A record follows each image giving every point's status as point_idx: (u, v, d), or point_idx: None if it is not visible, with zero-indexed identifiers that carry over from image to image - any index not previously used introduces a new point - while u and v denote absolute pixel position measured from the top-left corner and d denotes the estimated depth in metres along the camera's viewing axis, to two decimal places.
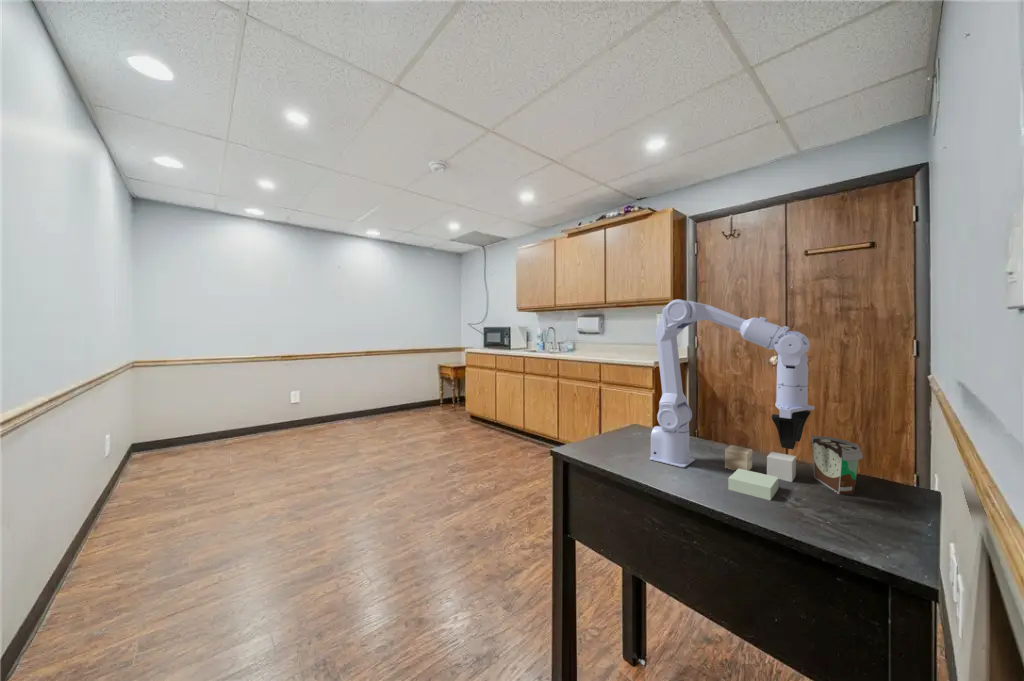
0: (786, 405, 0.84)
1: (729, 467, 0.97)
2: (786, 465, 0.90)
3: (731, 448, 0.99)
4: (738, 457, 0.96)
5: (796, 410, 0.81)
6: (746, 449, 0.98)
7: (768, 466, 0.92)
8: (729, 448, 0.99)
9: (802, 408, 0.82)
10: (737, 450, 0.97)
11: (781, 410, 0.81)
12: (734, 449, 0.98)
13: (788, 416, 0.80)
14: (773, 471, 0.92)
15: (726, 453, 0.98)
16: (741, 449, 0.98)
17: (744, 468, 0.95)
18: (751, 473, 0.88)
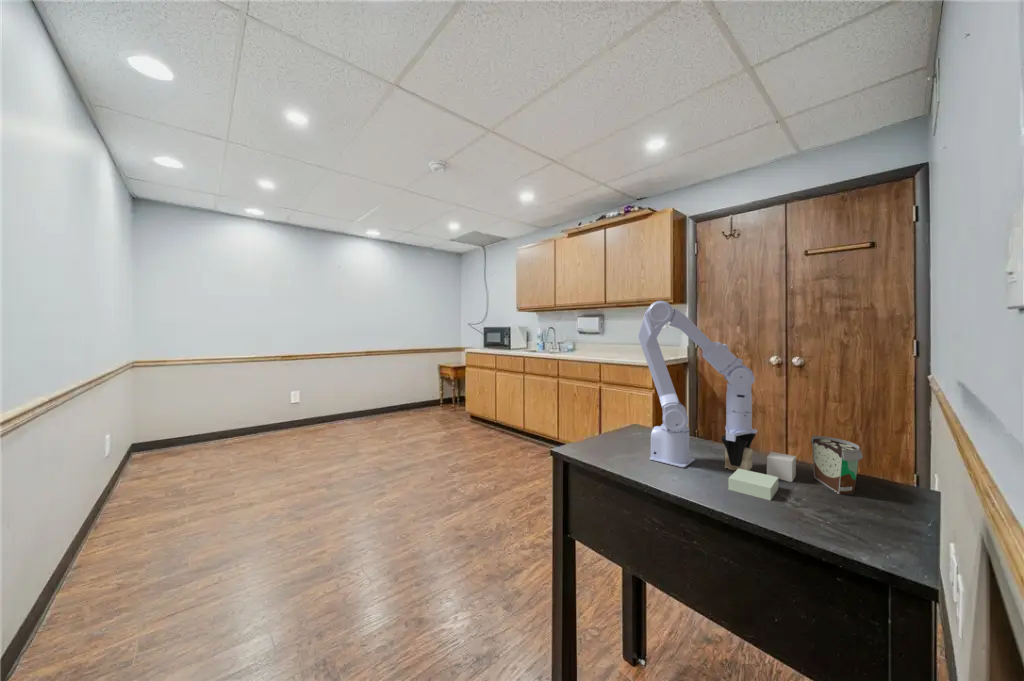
0: (733, 429, 0.96)
1: (729, 467, 0.97)
2: (786, 465, 0.90)
3: None
4: None
5: (740, 434, 0.94)
6: (746, 449, 0.98)
7: (768, 466, 0.92)
8: None
9: (746, 432, 0.95)
10: None
11: (727, 434, 0.93)
12: None
13: (733, 439, 0.92)
14: (773, 471, 0.92)
15: (726, 453, 0.98)
16: None
17: (744, 468, 0.95)
18: (751, 473, 0.88)
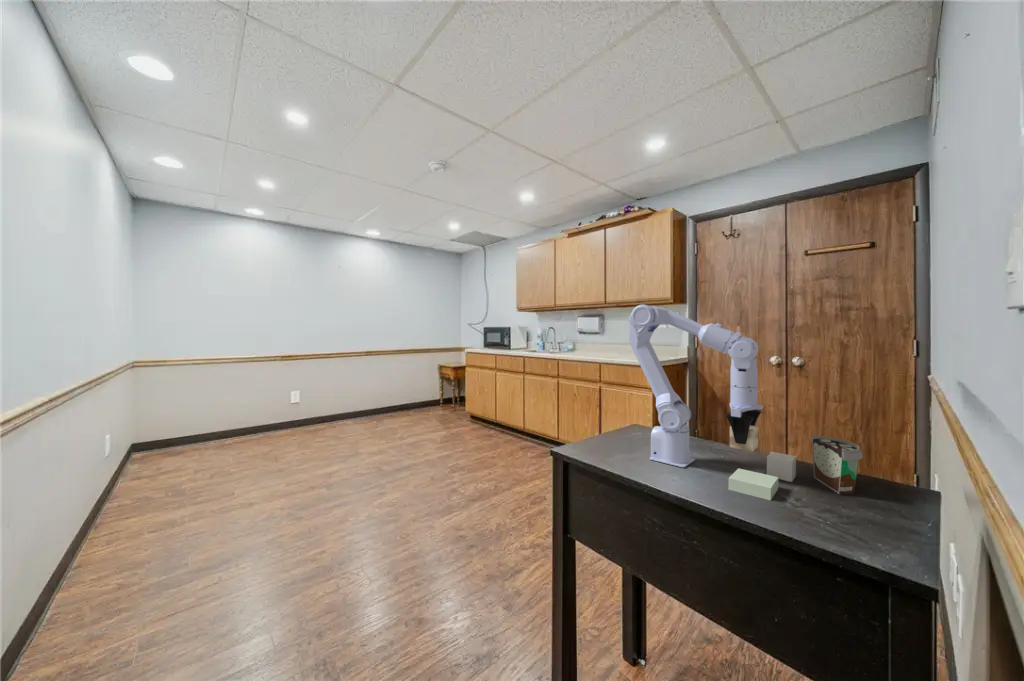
0: (738, 405, 0.92)
1: (734, 445, 0.93)
2: (786, 465, 0.90)
3: None
4: None
5: (746, 409, 0.89)
6: (752, 426, 0.93)
7: (768, 466, 0.92)
8: None
9: (752, 407, 0.90)
10: None
11: (732, 409, 0.89)
12: None
13: (738, 415, 0.88)
14: (773, 471, 0.92)
15: (731, 431, 0.93)
16: None
17: (750, 446, 0.90)
18: (751, 473, 0.88)
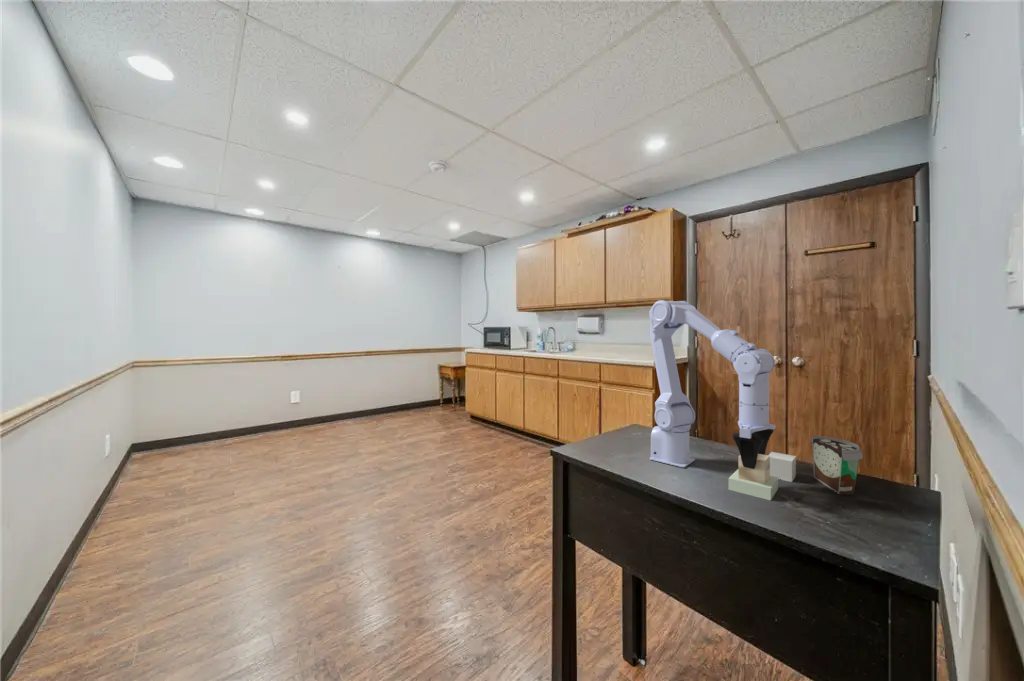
0: (747, 424, 0.83)
1: (743, 477, 0.85)
2: (786, 465, 0.90)
3: None
4: None
5: (756, 430, 0.81)
6: (763, 456, 0.85)
7: None
8: None
9: (763, 427, 0.82)
10: None
11: (741, 430, 0.80)
12: None
13: (748, 436, 0.80)
14: (773, 471, 0.92)
15: (740, 460, 0.85)
16: None
17: (761, 478, 0.82)
18: None
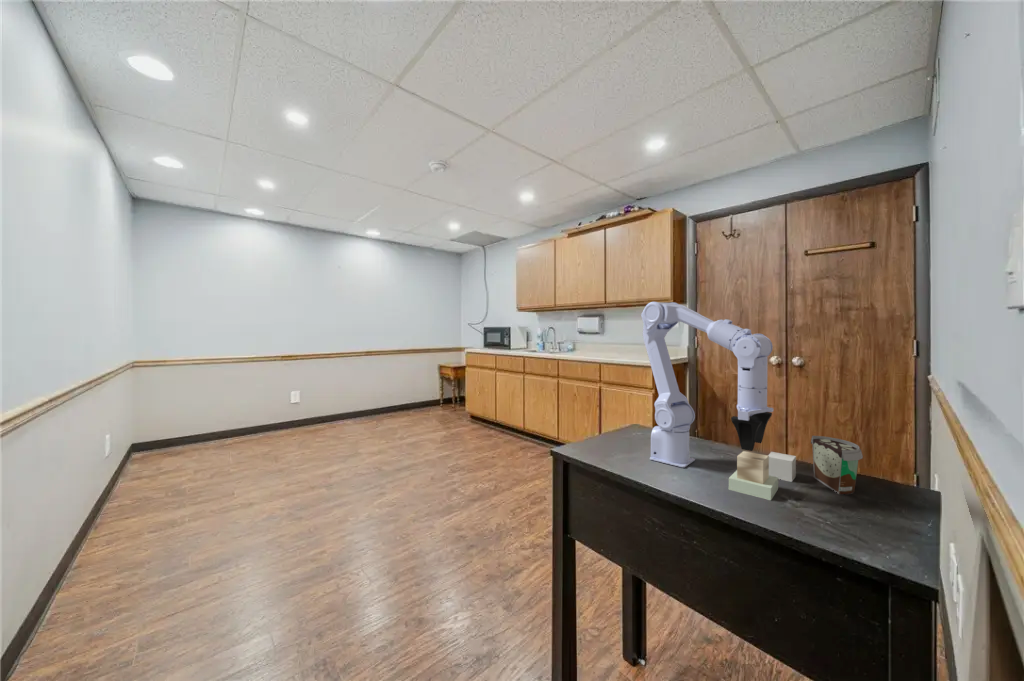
0: (746, 407, 0.85)
1: (742, 476, 0.85)
2: (786, 465, 0.90)
3: (744, 454, 0.86)
4: (753, 465, 0.83)
5: (754, 412, 0.82)
6: (762, 456, 0.85)
7: None
8: (742, 454, 0.86)
9: (761, 410, 0.83)
10: (751, 457, 0.84)
11: (739, 412, 0.82)
12: (748, 456, 0.85)
13: (746, 418, 0.81)
14: (773, 471, 0.92)
15: (738, 460, 0.85)
16: (756, 456, 0.85)
17: (760, 478, 0.82)
18: None
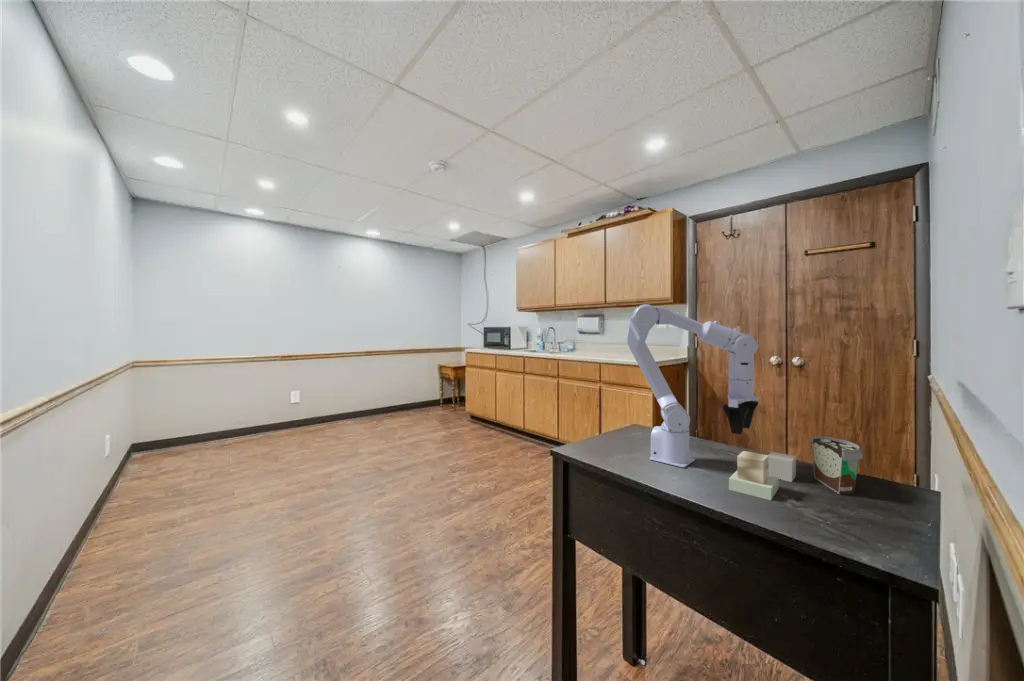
0: (735, 396, 0.97)
1: (742, 476, 0.85)
2: (786, 465, 0.90)
3: (744, 454, 0.86)
4: (753, 465, 0.83)
5: (742, 400, 0.95)
6: (761, 455, 0.85)
7: (768, 466, 0.92)
8: (742, 454, 0.86)
9: (748, 399, 0.96)
10: (751, 457, 0.84)
11: (729, 400, 0.94)
12: (748, 456, 0.85)
13: (735, 405, 0.94)
14: (773, 471, 0.92)
15: (738, 460, 0.85)
16: (755, 456, 0.85)
17: (760, 478, 0.82)
18: None
